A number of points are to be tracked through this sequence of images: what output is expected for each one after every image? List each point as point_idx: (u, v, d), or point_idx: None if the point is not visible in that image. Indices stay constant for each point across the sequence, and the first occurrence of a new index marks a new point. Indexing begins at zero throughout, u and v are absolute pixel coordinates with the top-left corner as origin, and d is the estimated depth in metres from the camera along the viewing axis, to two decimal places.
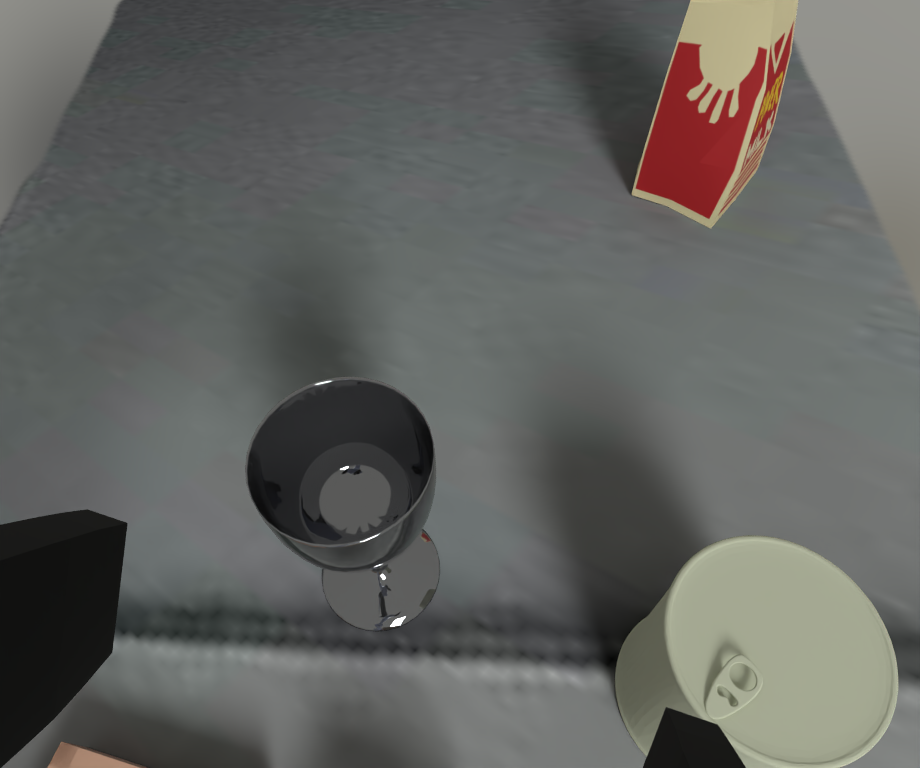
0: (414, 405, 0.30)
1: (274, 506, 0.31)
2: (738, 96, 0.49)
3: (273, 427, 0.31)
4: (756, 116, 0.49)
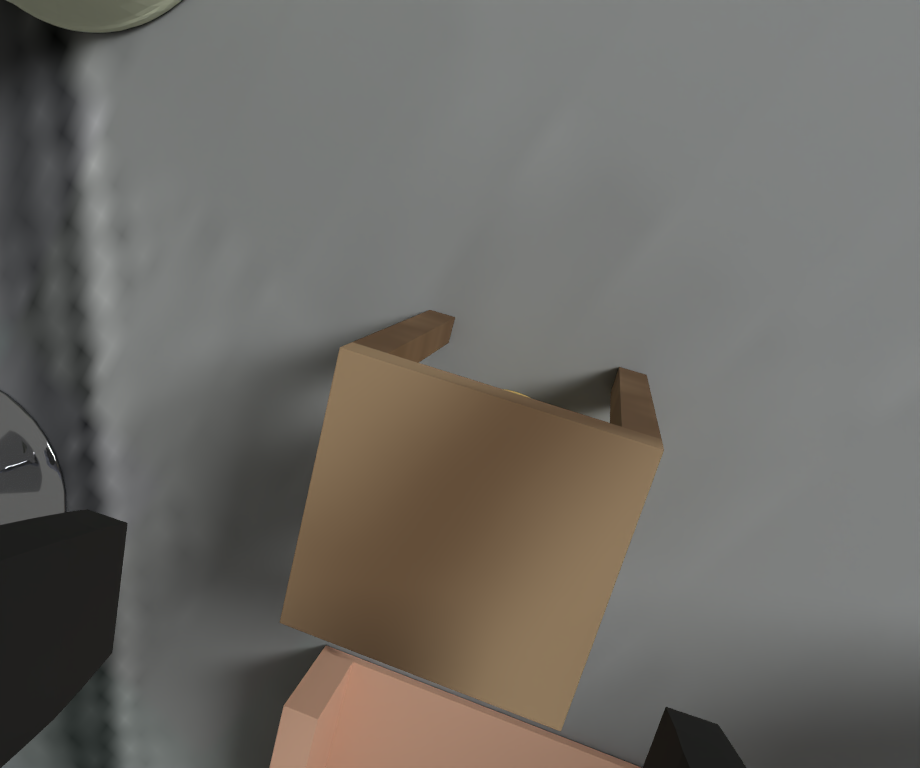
0: None
1: None
2: None
3: None
4: None
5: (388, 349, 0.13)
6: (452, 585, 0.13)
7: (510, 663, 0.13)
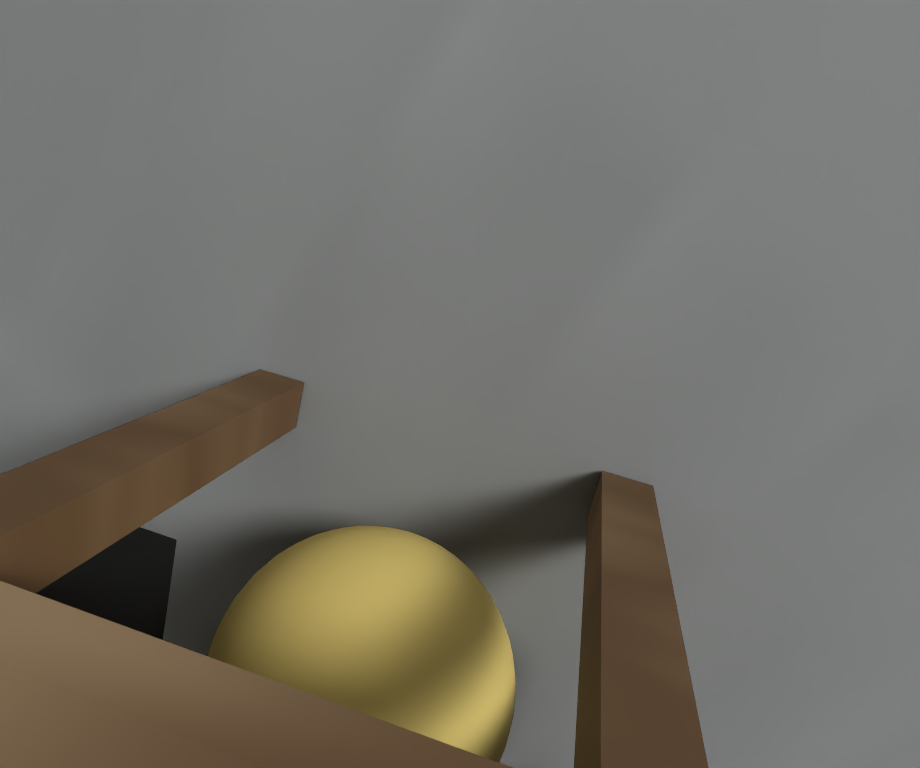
0: None
1: None
2: None
3: None
4: None
5: None
6: None
7: None
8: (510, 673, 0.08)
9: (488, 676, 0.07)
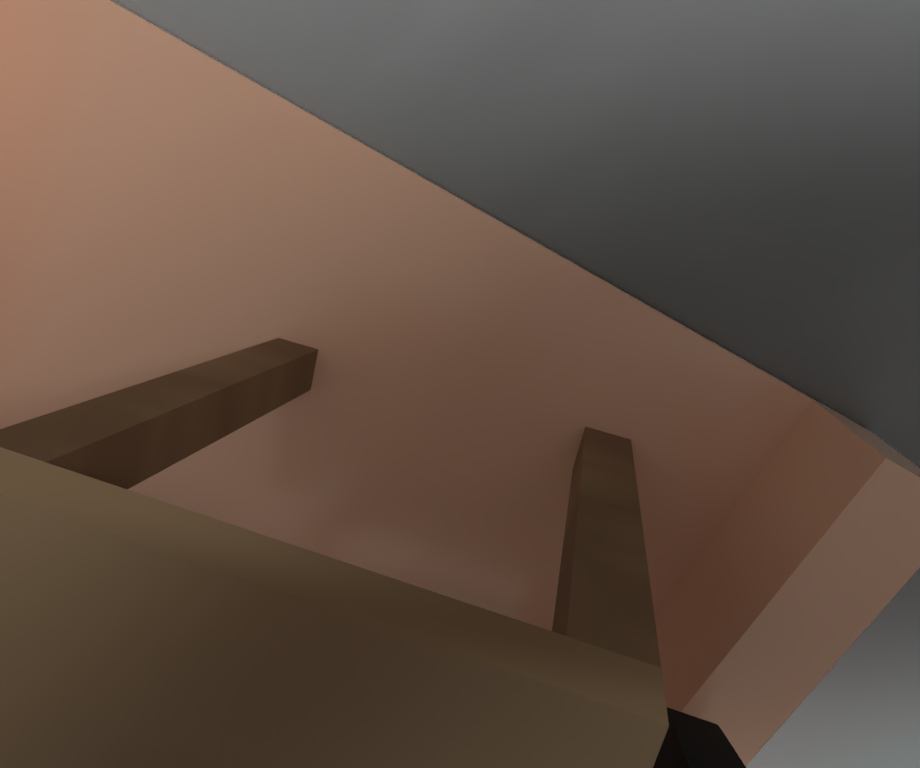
0: None
1: None
2: None
3: None
4: None
5: (64, 449, 0.06)
6: None
7: None
8: None
9: None
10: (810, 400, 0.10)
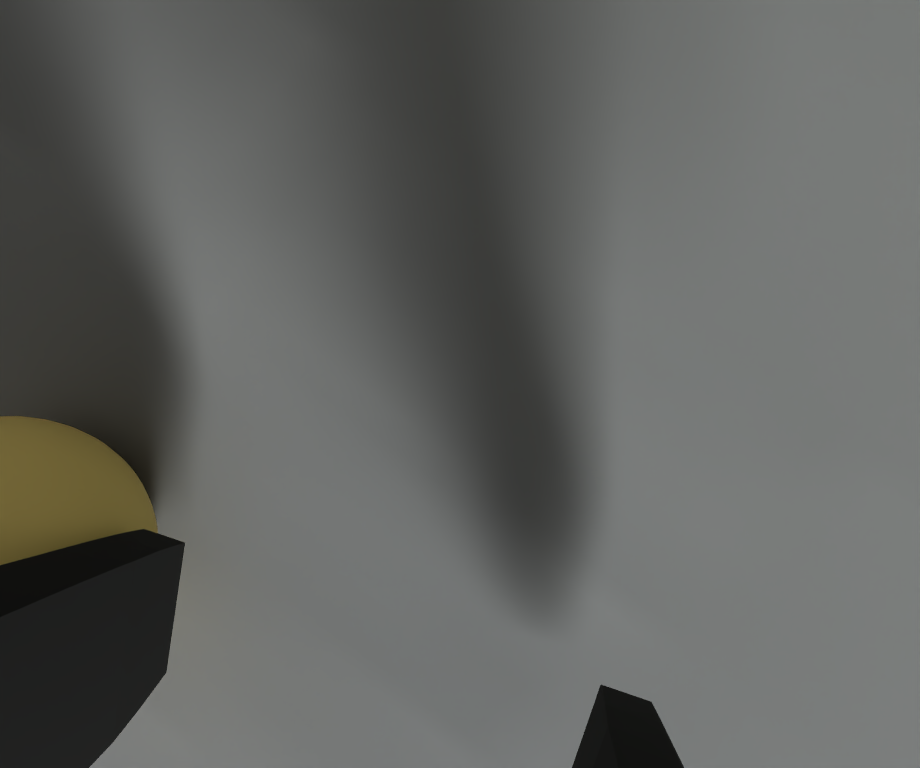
0: None
1: None
2: None
3: None
4: None
5: None
6: None
7: None
8: None
9: None
10: None
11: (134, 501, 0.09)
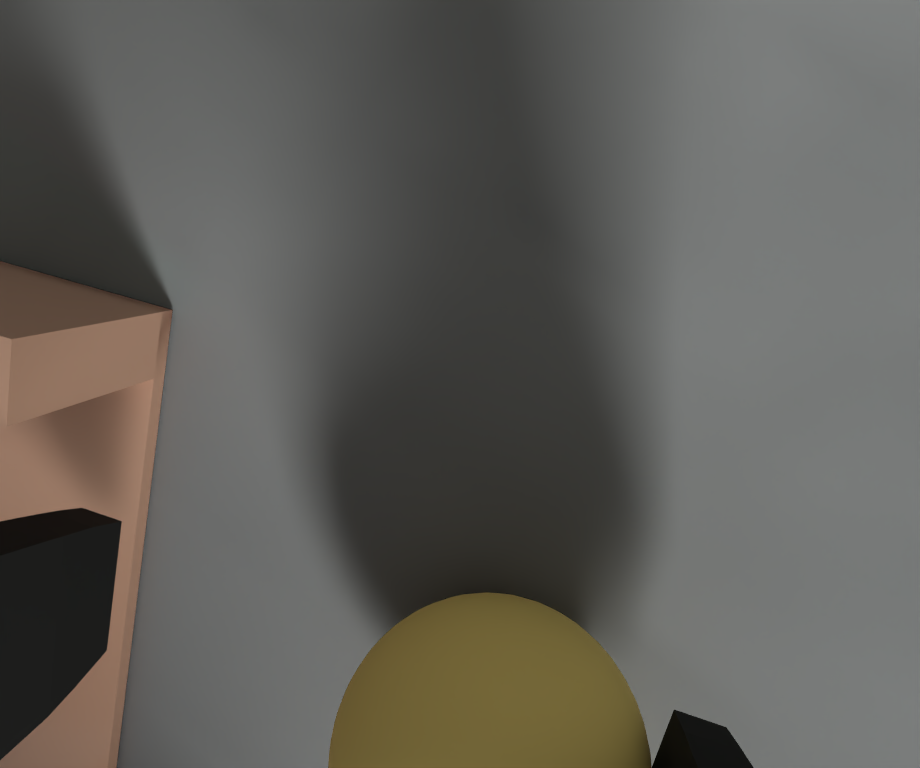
0: None
1: None
2: None
3: None
4: None
5: None
6: None
7: None
8: None
9: None
10: None
11: None
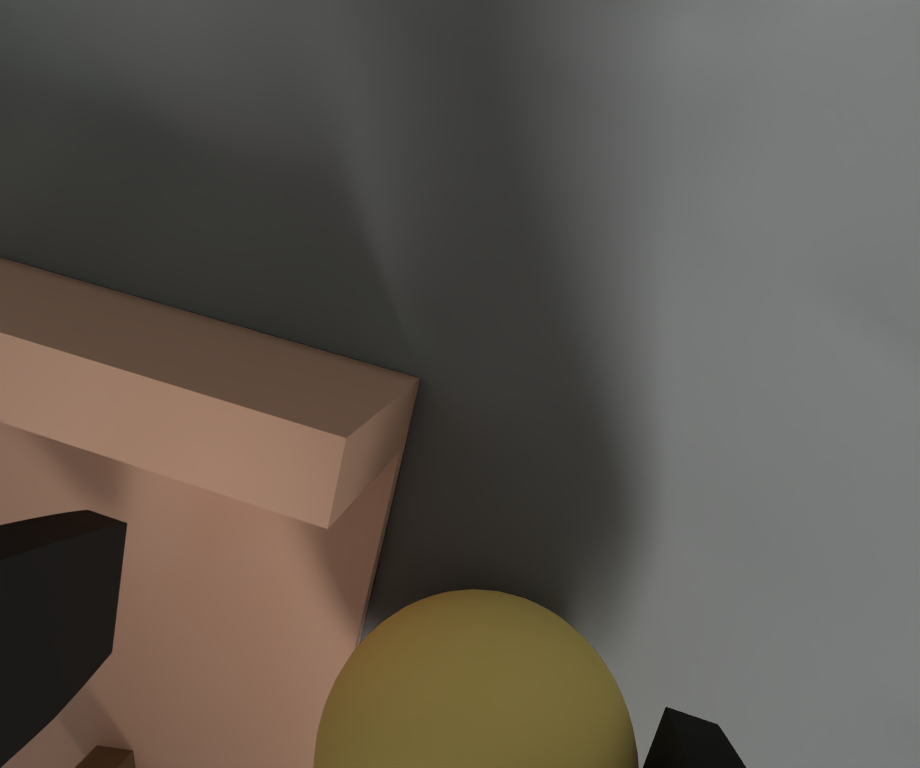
0: None
1: None
2: None
3: None
4: None
5: None
6: None
7: None
8: None
9: None
10: None
11: (369, 635, 0.08)
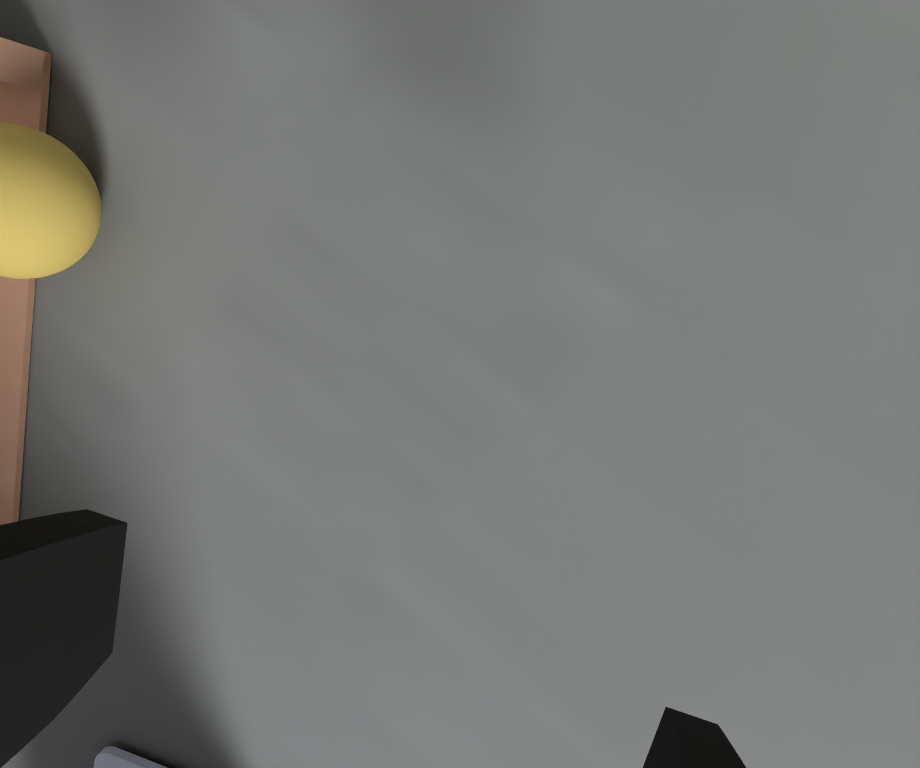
0: None
1: None
2: None
3: None
4: None
5: None
6: None
7: None
8: None
9: None
10: None
11: None
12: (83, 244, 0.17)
